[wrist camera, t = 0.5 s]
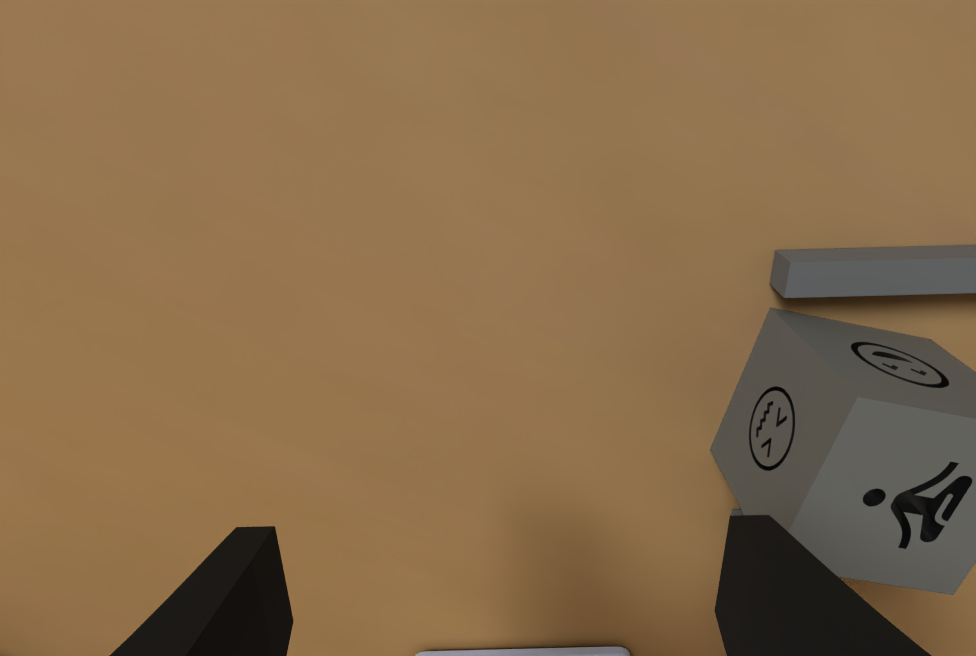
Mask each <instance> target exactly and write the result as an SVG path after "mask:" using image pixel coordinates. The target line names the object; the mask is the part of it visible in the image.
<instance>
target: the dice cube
mask: <svg viewBox="0 0 976 656" xmlns="http://www.w3.org/2000/svg"><path fill="white" fill-rule="evenodd" d="M710 451H711V453H712V455H713V457H714V459H715V460H716V462H717V464H718V466H719V468H720V470H721V472H722V474H723V476H724V478H725V480H726V481H727V483H728V485H729V487H730V489H731V491H732V493H733V495H734V497H735V499H736V501H737V502H738V504H739V506H740V508H741V510H742V512H743V514H744V515H770V516H771V517H772V518H773V519H774V520H775V521H777V522H778V523H779V524H780V525H781V526H782V527H783V528H784V529H786V530H787V531H788V532H789V533H790V534H791V535H792V536H793V537H794V538H795V539H797V540H798V541H799V542H800V543H801V544H802V545H803V546H804V547H805V548H806V549H807V550H809V551H810V552H811V553H812V554H813V555H814V556H815V557H816V558H817V559H818V560H820V561H821V562H822V563H823V564H824V565H825V566H826V567H827V568H828V569H830V570H831V571H832V572H833V573H834V574H835V575H836V576H837V577H843V578H850V579H856V580H862V581H868V582H875V583H881V584H887V585H894V586H900V587H906V588H912V589H919V590H925V591H931V592H938V593H944V594H950V595H954V593H955V592H956V590H957V589H958V587H959V586H960V584H961V583H962V581H963V580H964V579H965V577H966V576H967V574H968V573H969V571H970V570H971V568H972V567H973V565H974V564H975V562H976V372H975V371H973V370H972V369H971V368H969V367H968V366H967V365H965V364H964V363H962V362H961V361H960V360H958V359H957V358H956V357H954V356H953V355H951V354H950V353H949V352H947V351H946V350H945V349H943V348H942V347H940V346H939V345H938V344H936V343H935V342H934V341H932V340H931V339H926V338H921V337H916V336H911V335H906V334H901V333H896V332H891V331H886V330H881V329H876V328H871V327H866V326H861V325H856V324H851V323H846V322H841V321H836V320H831V319H826V318H821V317H816V316H811V315H806V314H801V313H796V312H791V311H786V310H781V309H776V308H771V307H770V309H769V311H768V314H767V316H766V319H765V321H764V323H763V326H762V328H761V330H760V333H759V335H758V337H757V340H756V342H755V344H754V347H753V349H752V352H751V354H750V356H749V359H748V361H747V363H746V366H745V368H744V370H743V373H742V375H741V377H740V380H739V382H738V384H737V387H736V389H735V392H734V394H733V396H732V399H731V401H730V403H729V406H728V408H727V410H726V413H725V415H724V417H723V420H722V422H721V425H720V427H719V429H718V432H717V434H716V436H715V439H714V441H713V443H712V446H711V448H710Z"/></svg>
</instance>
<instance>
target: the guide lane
mask: <svg viewBox="0 0 976 656" xmlns="http://www.w3.org/2000/svg"><path fill="white" fill-rule="evenodd" d="M770 285H771V286H772V287H773V288H774V289H775V290H776V291H777V292H778V293H779V294H780V295H782V296H783V297H784V298H806V297H844V296H883V295H921V294H960V293H976V245H954V246H916V247H878V248H840V249H801V250H775V255H774V261H773V267H772V273H771V279H770ZM737 515H744V514H743V512H742V510H732V515H731V516H737Z"/></svg>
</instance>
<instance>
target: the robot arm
mask: <svg viewBox="0 0 976 656" xmlns="http://www.w3.org/2000/svg"><path fill="white" fill-rule="evenodd" d="M715 614H716V618H717V621H718V625H719V629H720V632H721V636H722V640H723V643H724V647H725V650H726V654H727V656H931V655H930V654H929V653H927V652H926V651H925V650H923V649H922V648H921V647H920V646H918V645H917V644H916V643H915V642H913V641H912V640H911V639H910V638H909V637H907V636H906V635H905V634H904V633H902V632H901V631H900V630H899V629H898V628H896V627H895V626H894V625H893V624H892V623H890V622H889V621H888V620H887V619H886V618H884V617H883V616H882V615H881V614H880V613H879V612H877V611H876V610H875V609H874V608H873V607H872V606H870V605H869V604H868V603H867V602H866V601H865V600H863V599H862V598H861V597H860V596H859V595H858V594H857V593H855V592H854V591H853V590H852V589H851V588H850V587H849V586H847V585H846V584H845V583H844V582H843V581H842V580H841V579H840V578H838V577H837V576H836V575H835V574H834V573H833V572H832V571H831V570H830V569H828V568H827V567H826V566H825V565H824V564H823V563H822V562H821V561H820V560H818V559H817V558H816V557H815V556H814V555H813V554H812V553H811V552H810V551H809V550H807V549H806V548H805V547H804V546H803V545H802V544H801V543H800V542H799V541H798V540H797V539H795V538H794V537H793V536H792V535H791V534H790V533H789V532H788V531H787V530H786V529H784V528H783V527H782V526H781V525H780V524H779V523H778V522H777V521H775V520H774V519H773V518H772V517H771V516H770V515H737V516H730V519H729V526H728V532H727V538H726V544H725V550H724V557H723V563H722V569H721V575H720V581H719V588H718V594H717V600H716V606H715ZM292 625H293V617H292V611H291V606H290V601H289V596H288V591H287V586H286V581H285V576H284V571H283V565H282V560H281V555H280V550H279V545H278V540H277V535H276V530H275V526H269V527H236V528H235V529H234V530H233V531H232V532H231V533H230V534H229V535H228V536H227V537H226V538H225V539H224V540H223V541H222V542H221V543H220V544H219V545H218V547H217V548H216V549H215V550H214V551H213V552H212V553H211V554H210V555H209V556H208V557H207V558H206V559H205V560H204V561H203V562H202V563H201V564H200V565H199V566H198V567H197V569H196V570H195V571H194V572H193V573H192V574H191V575H190V576H189V577H188V578H187V579H186V580H185V581H184V582H183V583H182V584H181V585H180V586H179V587H178V588H177V589H176V590H175V591H174V592H173V593H172V595H171V596H170V597H169V598H168V599H167V600H166V601H165V602H164V603H163V604H162V605H161V606H160V607H159V608H158V609H157V610H156V611H155V612H154V613H153V614H152V615H151V616H150V617H149V618H148V619H147V620H146V621H145V622H144V623H143V624H142V625H141V626H140V627H139V628H138V629H137V630H136V631H135V632H134V633H133V634H132V635H131V636H130V637H129V638H128V639H127V640H126V641H125V642H124V643H123V644H121V645H120V646H119V647H118V648H117V649H116V650H115V651H114V652H113V653H112V654H111V655H110V656H286V655H287V650H288V645H289V640H290V635H291V630H292ZM415 656H630V652H629V651H628V650H627V649H625V648H623V647H618V646H612V647H572V648H532V649H493V650H453V651H424V652H420V653H418V654H416V655H415Z"/></svg>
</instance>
